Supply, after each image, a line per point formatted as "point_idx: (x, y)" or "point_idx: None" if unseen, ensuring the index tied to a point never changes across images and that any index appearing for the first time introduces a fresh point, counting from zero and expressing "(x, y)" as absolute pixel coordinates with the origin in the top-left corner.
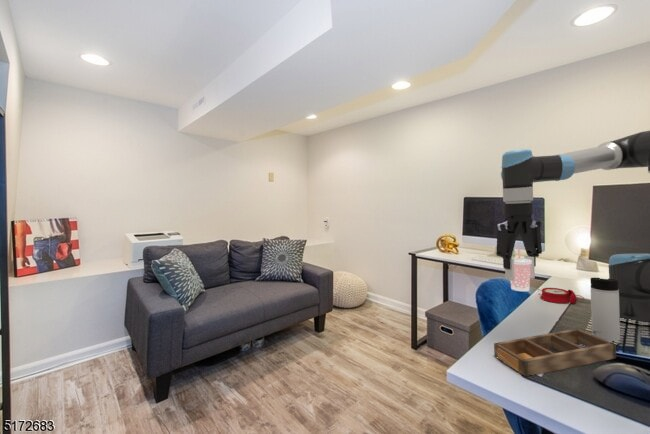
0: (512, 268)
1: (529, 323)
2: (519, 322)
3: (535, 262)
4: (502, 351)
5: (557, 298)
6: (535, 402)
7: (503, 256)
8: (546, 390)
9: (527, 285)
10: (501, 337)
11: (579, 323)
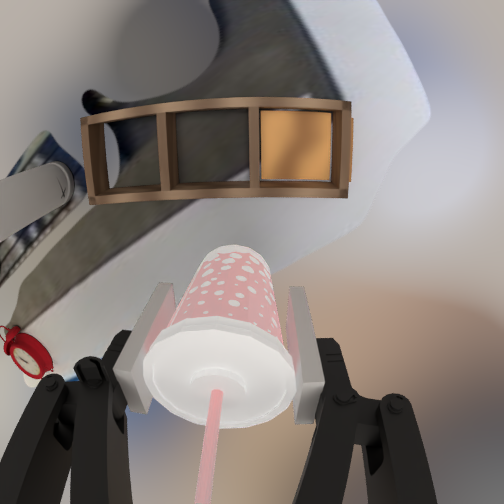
0: (311, 331)
1: (135, 296)
2: None
3: (110, 346)
4: (351, 165)
5: (32, 346)
6: (383, 46)
7: (401, 397)
8: (338, 58)
9: (224, 256)
10: None
11: (48, 262)
